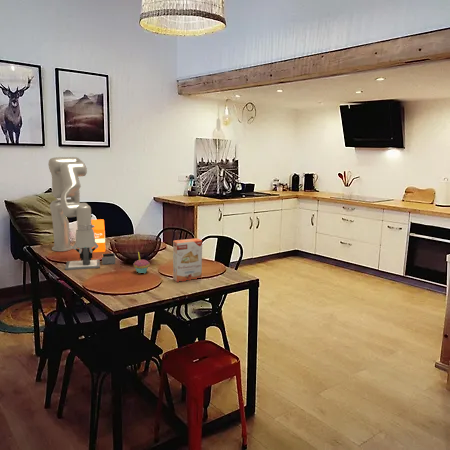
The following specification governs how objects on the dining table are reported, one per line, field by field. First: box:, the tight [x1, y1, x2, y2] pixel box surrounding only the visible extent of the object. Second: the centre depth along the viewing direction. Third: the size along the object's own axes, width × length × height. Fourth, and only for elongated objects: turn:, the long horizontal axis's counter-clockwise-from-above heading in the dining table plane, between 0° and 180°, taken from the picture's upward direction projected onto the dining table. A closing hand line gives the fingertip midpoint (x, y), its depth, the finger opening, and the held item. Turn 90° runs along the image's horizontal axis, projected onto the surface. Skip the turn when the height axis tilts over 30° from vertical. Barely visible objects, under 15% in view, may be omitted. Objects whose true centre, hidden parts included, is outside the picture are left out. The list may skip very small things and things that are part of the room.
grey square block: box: [101, 252, 116, 266], centre depth 251 cm, size 7×7×4 cm
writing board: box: [64, 258, 101, 271], centre depth 246 cm, size 14×18×1 cm
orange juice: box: [91, 218, 106, 253], centre depth 274 cm, size 8×9×20 cm
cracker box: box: [172, 237, 203, 283], centre depth 224 cm, size 14×6×21 cm, turn 117°
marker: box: [82, 247, 90, 265], centre depth 243 cm, size 4×4×12 cm
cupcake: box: [132, 251, 151, 274], centre depth 234 cm, size 9×8×12 cm
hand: (86, 259), depth 243 cm, fingers closed on marker, 3 cm apart
